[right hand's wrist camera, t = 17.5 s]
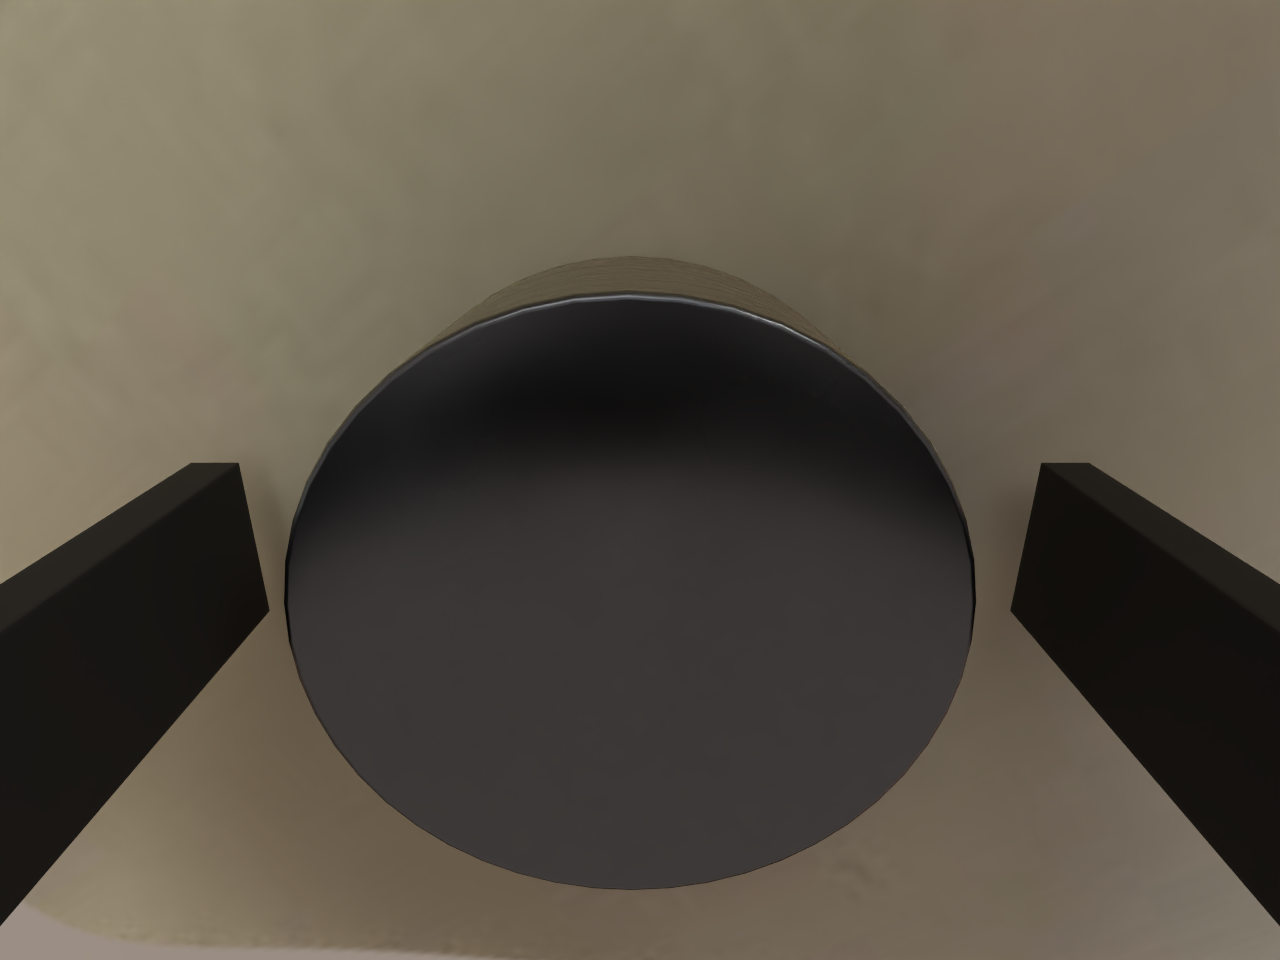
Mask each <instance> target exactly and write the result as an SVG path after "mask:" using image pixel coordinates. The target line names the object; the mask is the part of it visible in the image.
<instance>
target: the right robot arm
mask: <svg viewBox="0 0 1280 960" xmlns="http://www.w3.org/2000/svg"><path fill="white" fill-rule="evenodd" d="M269 611H270V610H269V605H268V600H267V596H266V591H265V586H264V581H263V577H262V572H261V567H260V562H259V558H258V553H257V548H256V543H255V539H254V534H253V529H252V524H251V519H250V515H249V510H248V505H247V500H246V496H245V491H244V486H243V481H242V477H241V472H240V467H239V463H190V464H189V465H187V466H185V467H184V468H182V469H181V470H179V471H178V472H176V473H174V474H173V475H171V476H170V477H168V478H167V479H165V480H163V481H162V482H160V483H159V484H157V485H156V486H154V487H153V488H151V489H149V490H148V491H146V492H145V493H143V494H142V495H140V496H138V497H137V498H135V499H134V500H132V501H131V502H129V503H127V504H126V505H124V506H123V507H121V508H120V509H118V510H116V511H115V512H113V513H112V514H110V515H109V516H107V517H105V518H104V519H102V520H101V521H99V522H98V523H96V524H94V525H93V526H91V527H90V528H88V529H87V530H85V531H83V532H82V533H80V534H79V535H77V536H76V537H74V538H72V539H71V540H69V541H68V542H66V543H65V544H63V545H61V546H60V547H58V548H57V549H55V550H54V551H52V552H50V553H49V554H47V555H46V556H44V557H43V558H41V559H39V560H38V561H36V562H35V563H33V564H32V565H30V566H28V567H27V568H25V569H24V570H22V571H21V572H19V573H17V574H16V575H14V576H13V577H11V578H10V579H8V580H6V581H5V582H3V583H2V584H0V926H1V925H2V923H3V922H4V921H5V920H6V919H7V918H8V916H9V915H10V914H11V913H12V912H13V911H14V909H15V908H16V907H17V906H18V905H19V904H20V902H21V901H22V900H23V899H24V898H25V897H26V895H27V894H28V893H29V892H30V891H31V889H32V888H33V887H34V886H35V885H36V884H37V882H38V881H39V880H40V879H41V878H42V877H43V875H44V874H45V873H46V872H47V871H48V870H49V868H50V867H51V866H52V865H53V864H54V863H55V861H56V860H57V859H58V858H59V857H60V856H61V854H62V853H63V852H64V851H65V850H66V849H67V847H68V846H69V845H70V844H71V843H72V841H73V840H74V839H75V838H76V837H77V836H78V834H79V833H80V832H81V831H82V830H83V829H84V827H85V826H86V825H87V824H88V823H89V822H90V820H91V819H92V818H93V817H94V816H95V815H96V813H97V812H98V811H99V810H100V809H101V808H102V806H103V805H104V804H105V803H106V802H107V801H108V799H109V798H110V797H111V796H112V795H113V794H114V792H115V791H116V790H117V789H118V788H119V786H120V785H121V784H122V783H123V782H124V781H125V779H126V778H127V777H128V776H129V775H130V774H131V772H132V771H133V770H134V769H135V768H136V767H137V765H138V764H139V763H140V762H141V761H142V760H143V758H144V757H145V756H146V755H147V754H148V753H149V751H150V750H151V749H152V748H153V747H154V746H155V744H156V743H157V742H158V741H159V740H160V738H161V737H162V736H163V735H164V734H165V733H166V731H167V730H168V729H169V728H170V727H171V726H172V724H173V723H174V722H175V721H176V720H177V719H178V717H179V716H180V715H181V714H182V713H183V712H184V710H185V709H186V708H187V707H188V706H189V705H190V703H191V702H192V701H193V700H194V699H195V698H196V696H197V695H198V694H199V693H200V692H201V690H202V689H203V688H204V687H205V686H206V685H207V683H208V682H209V681H210V680H211V679H212V678H213V676H214V675H215V674H216V673H217V672H218V671H219V669H220V668H221V667H222V666H223V665H224V664H225V662H226V661H227V660H228V659H229V658H230V657H231V655H232V654H233V653H234V652H235V651H236V650H237V648H238V647H239V646H240V645H241V644H242V642H243V641H244V640H245V639H246V638H247V637H248V635H249V634H250V633H251V632H252V631H253V630H254V628H255V627H256V626H257V625H258V624H259V623H260V621H261V620H262V619H263V618H264V617H265V616H266V614H267V613H268V612H269ZM1010 611H1011V612H1012V613H1013V614H1014V616H1015V617H1016V618H1017V619H1018V620H1019V621H1020V623H1021V624H1022V625H1023V626H1024V627H1025V628H1026V630H1027V631H1028V632H1029V633H1030V634H1031V635H1032V637H1033V638H1034V639H1035V640H1036V641H1037V642H1038V644H1039V645H1040V646H1041V647H1042V648H1043V650H1044V651H1045V652H1046V653H1047V654H1048V655H1049V657H1050V658H1051V659H1052V660H1053V661H1054V662H1055V664H1056V665H1057V666H1058V667H1059V668H1060V669H1061V671H1062V672H1063V673H1064V674H1065V675H1066V676H1067V678H1068V679H1069V680H1070V681H1071V682H1072V683H1073V685H1074V686H1075V687H1076V688H1077V689H1078V690H1079V692H1080V693H1081V694H1082V695H1083V696H1084V697H1085V699H1086V700H1087V701H1088V702H1089V703H1090V705H1091V706H1092V707H1093V708H1094V709H1095V710H1096V712H1097V713H1098V714H1099V715H1100V716H1101V717H1102V719H1103V720H1104V721H1105V722H1106V723H1107V724H1108V726H1109V727H1110V728H1111V729H1112V730H1113V731H1114V733H1115V734H1116V735H1117V736H1118V737H1119V738H1120V740H1121V741H1122V742H1123V743H1124V744H1125V745H1126V747H1127V748H1128V749H1129V750H1130V751H1131V753H1132V754H1133V755H1134V756H1135V757H1136V758H1137V760H1138V761H1139V762H1140V763H1141V764H1142V765H1143V767H1144V768H1145V769H1146V770H1147V771H1148V772H1149V774H1150V775H1151V776H1152V777H1153V778H1154V779H1155V781H1156V782H1157V783H1158V784H1159V785H1160V786H1161V788H1162V789H1163V790H1164V791H1165V792H1166V793H1167V795H1168V796H1169V797H1170V798H1171V799H1172V801H1173V802H1174V803H1175V804H1176V805H1177V806H1178V808H1179V809H1180V810H1181V811H1182V812H1183V813H1184V815H1185V816H1186V817H1187V818H1188V819H1189V820H1190V822H1191V823H1192V824H1193V825H1194V826H1195V827H1196V829H1197V830H1198V831H1199V832H1200V833H1201V834H1202V836H1203V837H1204V838H1205V839H1206V840H1207V841H1208V843H1209V844H1210V845H1211V846H1212V847H1213V848H1214V850H1215V851H1216V852H1217V853H1218V854H1219V856H1220V857H1221V858H1222V859H1223V860H1224V861H1225V863H1226V864H1227V865H1228V866H1229V867H1230V868H1231V870H1232V871H1233V872H1234V873H1235V874H1236V875H1237V877H1238V878H1239V879H1240V880H1241V881H1242V882H1243V884H1244V885H1245V886H1246V887H1247V888H1248V889H1249V891H1250V892H1251V893H1252V894H1253V895H1254V896H1255V898H1256V899H1257V900H1258V901H1259V902H1260V904H1261V905H1262V906H1263V907H1264V908H1265V909H1266V911H1267V912H1268V913H1269V914H1270V915H1271V916H1272V918H1273V919H1274V920H1275V921H1276V922H1277V923H1278V925H1279V926H1280V584H1278V583H1277V582H1275V581H1274V580H1272V579H1270V578H1269V577H1267V576H1266V575H1264V574H1263V573H1261V572H1259V571H1258V570H1256V569H1255V568H1253V567H1252V566H1250V565H1248V564H1247V563H1245V562H1244V561H1242V560H1241V559H1239V558H1237V557H1236V556H1234V555H1233V554H1231V553H1230V552H1228V551H1226V550H1225V549H1223V548H1222V547H1220V546H1219V545H1217V544H1215V543H1214V542H1212V541H1211V540H1209V539H1208V538H1206V537H1204V536H1203V535H1201V534H1200V533H1198V532H1197V531H1195V530H1193V529H1192V528H1190V527H1189V526H1187V525H1186V524H1184V523H1182V522H1181V521H1179V520H1178V519H1176V518H1175V517H1173V516H1172V515H1170V514H1168V513H1167V512H1165V511H1164V510H1162V509H1161V508H1159V507H1157V506H1156V505H1154V504H1153V503H1151V502H1150V501H1148V500H1146V499H1145V498H1143V497H1142V496H1140V495H1139V494H1137V493H1135V492H1134V491H1132V490H1131V489H1129V488H1128V487H1126V486H1124V485H1123V484H1121V483H1120V482H1118V481H1117V480H1115V479H1113V478H1112V477H1110V476H1109V475H1107V474H1106V473H1104V472H1102V471H1101V470H1099V469H1098V468H1096V467H1095V466H1093V465H1091V464H1090V463H1041V467H1040V472H1039V477H1038V481H1037V486H1036V491H1035V496H1034V500H1033V505H1032V510H1031V515H1030V520H1029V524H1028V529H1027V534H1026V539H1025V543H1024V548H1023V553H1022V558H1021V562H1020V567H1019V572H1018V577H1017V581H1016V586H1015V591H1014V596H1013V601H1012V605H1011V610H1010Z"/></svg>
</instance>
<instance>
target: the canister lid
mask: <svg viewBox="0 0 1280 960" xmlns="http://www.w3.org/2000/svg"><path fill="white" fill-rule="evenodd" d="M284 605H285V613H286V621H287V629H288V637H289V643H290V647H291V650H292V654H293V657H294V661H295V665H296V668H297V672H298V675H299V679H300V681H301V683H302V686H303V688H304V690H305V692H306V695H307V697H308V699H309V701H310V704H311V706H312V708H313V710H314V713H315V715H316V716H317V718H318V720H319V721H320V723H321V724H322V726H323V728H324V729H325V731H326V733H327V734H328V736H329V737H330V739H331V741H332V742H333V744H334V746H335V747H336V748H337V749H338V751H339V752H340V753H341V754H342V756H343V757H344V758H345V759H346V761H347V762H348V763H349V764H350V766H351V767H352V768H353V769H354V770H355V772H356V773H357V774H358V775H359V776H360V777H361V778H362V779H363V780H364V781H365V782H366V783H367V784H368V785H369V786H370V787H371V788H372V789H373V790H374V791H375V792H376V793H377V794H378V795H379V796H380V797H381V798H382V799H383V800H384V801H385V802H387V803H388V804H389V805H390V806H392V807H393V808H394V809H396V810H397V811H398V812H400V813H401V814H402V815H404V816H405V817H406V818H407V819H409V820H410V821H411V822H413V823H414V824H415V825H417V826H418V827H420V828H422V829H423V830H425V831H427V832H428V833H430V834H432V835H433V836H435V837H437V838H438V839H440V840H441V841H443V842H445V843H446V844H448V845H450V846H452V847H454V848H456V849H459V850H461V851H463V852H465V853H467V854H469V855H471V856H473V857H476V858H478V859H480V860H482V861H485V862H487V863H490V864H493V865H496V866H499V867H502V868H504V869H507V870H510V871H513V872H516V873H519V874H523V875H527V876H531V877H535V878H539V879H543V880H547V881H551V882H556V883H562V884H569V885H576V886H583V887H590V888H604V889H625V890H639V889H660V888H674V887H680V886H687V885H694V884H701V883H708V882H712V881H716V880H720V879H724V878H728V877H732V876H736V875H740V874H745V873H747V872H750V871H753V870H756V869H759V868H762V867H764V866H767V865H770V864H773V863H776V862H779V861H781V860H783V859H785V858H788V857H790V856H792V855H794V854H796V853H798V852H800V851H802V850H804V849H806V848H809V847H811V846H813V845H815V844H817V843H818V842H820V841H821V840H823V839H825V838H826V837H828V836H830V835H831V834H833V833H835V832H836V831H838V830H839V829H841V828H843V827H844V826H846V825H848V824H849V823H850V822H851V821H853V820H854V819H855V818H857V817H858V816H859V815H860V814H862V813H863V812H864V811H866V810H867V809H868V808H869V807H871V806H872V805H873V804H875V803H876V802H877V801H878V800H879V799H880V798H881V797H882V796H883V795H884V794H885V793H886V792H887V791H888V790H889V789H890V788H891V787H892V786H893V785H894V784H895V783H896V782H897V781H898V780H899V779H900V778H901V777H902V776H903V775H904V774H905V773H906V772H907V771H908V769H909V768H910V767H911V766H912V764H913V763H914V762H915V760H916V759H917V758H918V757H919V755H920V754H921V753H922V752H923V750H924V749H925V748H926V747H927V745H928V744H929V742H930V740H931V739H932V737H933V735H934V734H935V732H936V730H937V729H938V727H939V725H940V724H941V722H942V720H943V719H944V717H945V715H946V714H947V711H948V709H949V707H950V704H951V702H952V700H953V697H954V695H955V693H956V690H957V688H958V686H959V683H960V681H961V679H962V675H963V671H964V668H965V664H966V660H967V656H968V653H969V649H970V645H971V641H972V632H973V624H974V615H975V606H976V590H975V565H974V556H973V551H972V546H971V541H970V536H969V531H968V526H967V521H966V518H965V515H964V512H963V510H962V507H961V504H960V501H959V499H958V496H957V493H956V491H955V488H954V485H953V482H952V480H951V478H950V476H949V475H948V473H947V471H946V469H945V467H944V466H943V464H942V462H941V460H940V458H939V457H938V455H937V453H936V451H935V449H934V448H933V446H932V444H931V442H930V441H929V440H928V438H927V437H926V436H925V434H924V433H923V432H922V431H921V429H920V428H919V427H918V425H917V424H916V423H915V422H914V420H913V419H912V418H911V416H910V415H909V414H908V413H907V411H906V410H905V409H904V407H903V406H902V405H901V404H900V403H899V402H898V401H897V400H896V399H895V398H893V397H892V396H891V395H890V394H889V393H888V392H887V391H886V390H885V389H884V388H883V387H882V386H881V385H880V384H879V383H878V382H877V381H876V380H875V379H874V378H872V377H871V376H870V375H869V374H868V373H867V372H866V371H865V370H864V369H862V368H861V367H860V366H859V365H858V364H857V363H856V362H854V361H853V360H852V359H851V358H850V357H849V356H847V355H846V354H845V353H844V352H843V351H842V350H840V349H839V348H838V347H837V346H836V345H835V344H833V343H832V342H831V341H830V340H829V339H828V338H827V337H825V336H824V335H823V334H822V333H821V332H820V331H818V330H817V329H816V328H815V327H814V326H813V325H811V324H810V323H809V322H808V321H807V320H806V319H804V318H803V317H802V316H801V315H799V314H798V313H797V312H795V311H794V310H792V309H791V308H790V307H788V306H787V305H785V304H784V303H783V302H781V301H780V300H778V299H777V298H775V297H774V296H773V295H771V294H769V293H767V292H765V291H763V290H761V289H759V288H757V287H755V286H753V285H751V284H749V283H748V282H746V281H744V280H742V279H740V278H737V277H734V276H731V275H728V274H725V273H723V272H720V271H717V270H714V269H711V268H708V267H706V266H701V265H696V264H691V263H686V262H681V261H676V260H672V259H662V258H647V257H632V256H631V257H617V258H602V259H592V260H587V261H582V262H578V263H573V264H568V265H563V266H558V267H555V268H553V269H550V270H547V271H544V272H541V273H539V274H536V275H533V276H530V277H527V278H525V279H522V280H520V281H518V282H516V283H514V284H513V285H511V286H509V287H507V288H505V289H503V290H501V291H499V292H497V293H495V294H493V295H491V296H490V297H489V298H487V299H486V300H484V301H483V302H482V303H480V304H479V305H477V306H476V307H475V308H473V309H472V310H470V311H469V312H468V313H466V314H465V315H463V316H462V317H461V318H460V319H458V320H457V321H456V322H454V323H453V324H452V325H451V326H449V327H448V328H447V329H445V330H444V331H443V332H442V333H440V334H439V335H438V336H436V337H435V338H434V339H433V340H431V341H430V342H429V343H428V344H426V345H425V346H424V347H422V348H421V349H420V350H419V351H417V352H416V353H415V354H413V355H412V356H411V357H410V358H408V359H407V360H406V361H405V362H403V363H402V364H401V365H399V366H398V367H397V368H396V369H394V370H393V371H392V372H390V373H389V374H388V375H387V376H386V377H385V378H384V379H383V380H382V381H381V382H380V383H379V384H378V385H377V386H376V387H375V388H374V389H373V390H372V391H371V392H370V393H368V394H367V395H366V396H365V397H364V398H363V399H362V400H361V401H360V402H359V403H358V404H357V405H356V406H355V407H354V409H353V410H352V411H351V412H350V414H349V415H348V416H347V418H346V419H345V420H344V422H343V423H342V424H341V426H340V427H339V428H338V430H337V431H336V432H335V433H334V435H333V436H332V437H331V439H330V440H329V441H328V443H327V445H326V446H325V448H324V450H323V452H322V454H321V456H320V457H319V459H318V461H317V463H316V465H315V467H314V469H313V470H312V472H311V474H310V476H309V478H308V480H307V482H306V485H305V487H304V490H303V493H302V496H301V499H300V502H299V504H298V507H297V510H296V513H295V516H294V518H293V522H292V527H291V533H290V538H289V544H288V549H287V554H286V560H285V593H284Z"/></svg>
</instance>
